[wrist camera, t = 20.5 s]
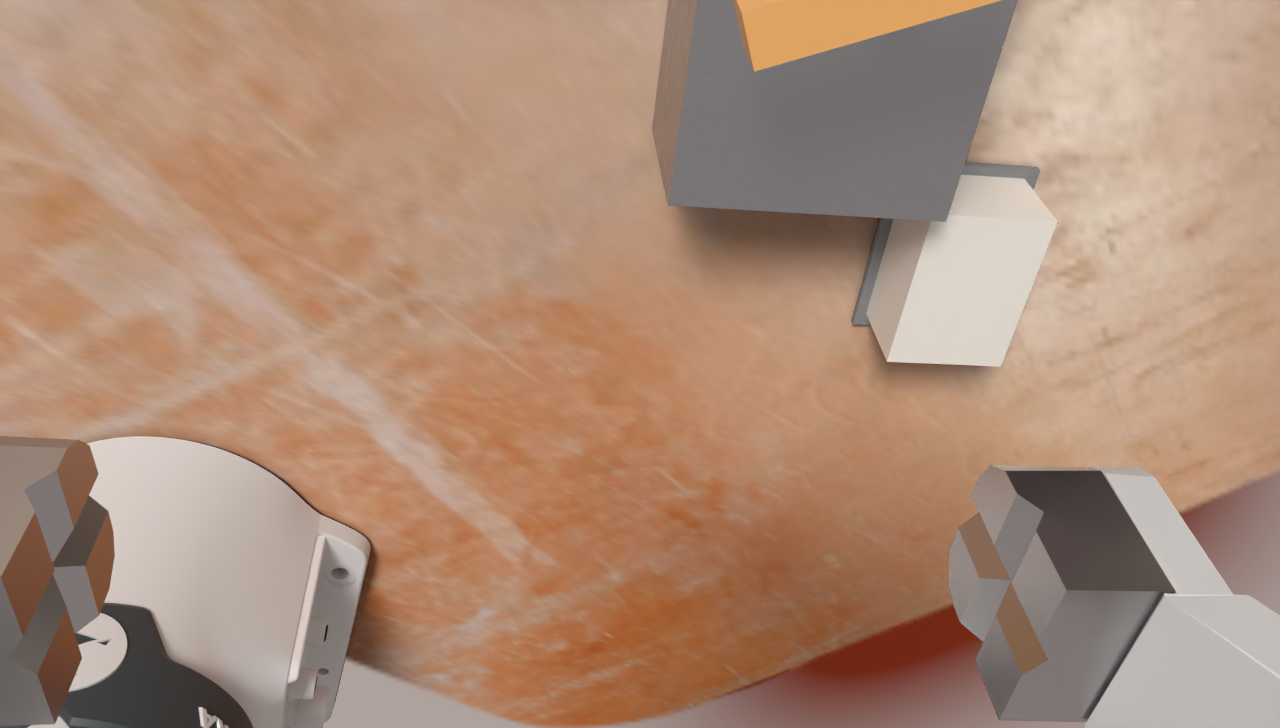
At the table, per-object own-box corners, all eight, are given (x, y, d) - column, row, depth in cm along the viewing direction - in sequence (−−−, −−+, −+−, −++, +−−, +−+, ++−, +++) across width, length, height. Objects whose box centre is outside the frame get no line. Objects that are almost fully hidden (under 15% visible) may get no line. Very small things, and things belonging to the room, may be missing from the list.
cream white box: (973, 318, 48) (1000, 366, 45) (866, 313, 47) (886, 361, 45) (1024, 178, 44) (1057, 221, 41) (907, 171, 43) (933, 214, 40)
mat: (979, 326, 49) (981, 330, 48) (851, 320, 48) (852, 324, 48) (1037, 167, 44) (1040, 170, 44) (896, 157, 43) (898, 161, 43)
